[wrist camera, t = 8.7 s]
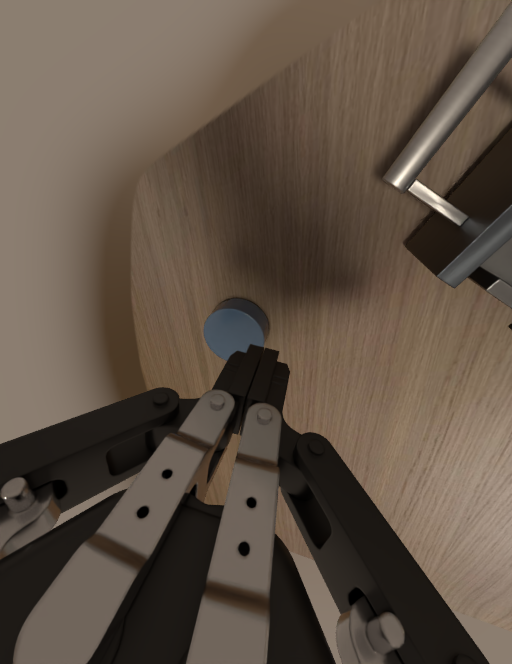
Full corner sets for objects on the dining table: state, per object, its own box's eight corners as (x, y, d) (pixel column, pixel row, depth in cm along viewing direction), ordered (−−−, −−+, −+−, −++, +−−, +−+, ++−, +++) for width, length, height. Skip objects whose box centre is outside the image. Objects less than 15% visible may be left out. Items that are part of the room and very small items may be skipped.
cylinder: (201, 314, 28) (191, 325, 26) (247, 287, 25) (239, 297, 23) (234, 357, 29) (227, 371, 27) (280, 337, 27) (276, 350, 25)
